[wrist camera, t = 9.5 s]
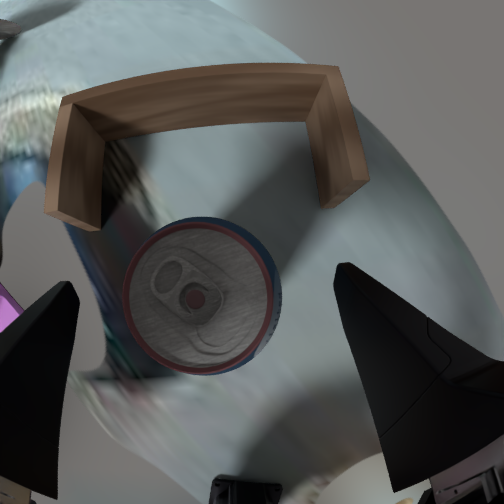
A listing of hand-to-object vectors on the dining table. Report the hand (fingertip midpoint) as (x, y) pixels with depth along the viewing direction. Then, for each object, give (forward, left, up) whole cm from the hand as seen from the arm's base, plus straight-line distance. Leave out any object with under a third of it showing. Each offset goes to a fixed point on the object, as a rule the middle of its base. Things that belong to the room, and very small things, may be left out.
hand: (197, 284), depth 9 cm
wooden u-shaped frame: (+9, +3, -13) cm, 16 cm away
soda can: (-1, 0, -14) cm, 14 cm away
